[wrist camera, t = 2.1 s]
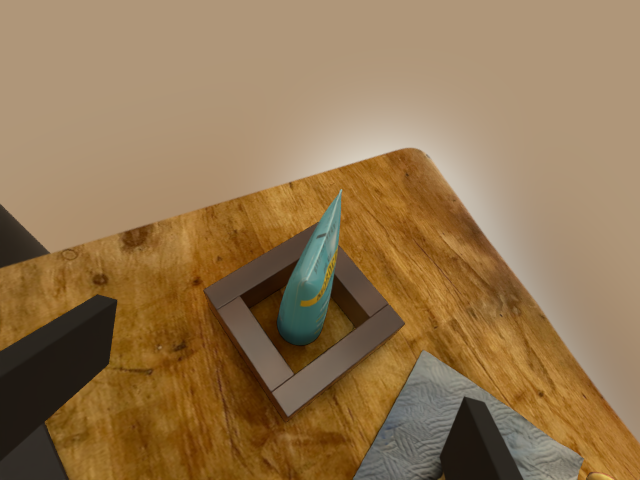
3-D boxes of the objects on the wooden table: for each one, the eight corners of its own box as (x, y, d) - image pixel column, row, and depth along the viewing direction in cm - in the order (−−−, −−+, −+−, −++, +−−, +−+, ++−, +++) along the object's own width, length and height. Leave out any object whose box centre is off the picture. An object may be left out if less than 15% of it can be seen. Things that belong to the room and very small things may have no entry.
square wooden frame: (209, 307, 42) (202, 289, 38) (313, 243, 47) (318, 221, 43) (285, 423, 37) (287, 418, 33) (391, 337, 43) (405, 323, 38)
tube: (313, 362, 40) (346, 291, 24) (267, 350, 40) (269, 270, 24) (329, 296, 44) (367, 195, 28) (287, 285, 44) (300, 178, 28)
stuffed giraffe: (531, 650, 31) (730, 768, 18) (342, 497, 35) (388, 500, 22) (579, 459, 39) (740, 442, 26) (419, 352, 43) (488, 290, 30)
